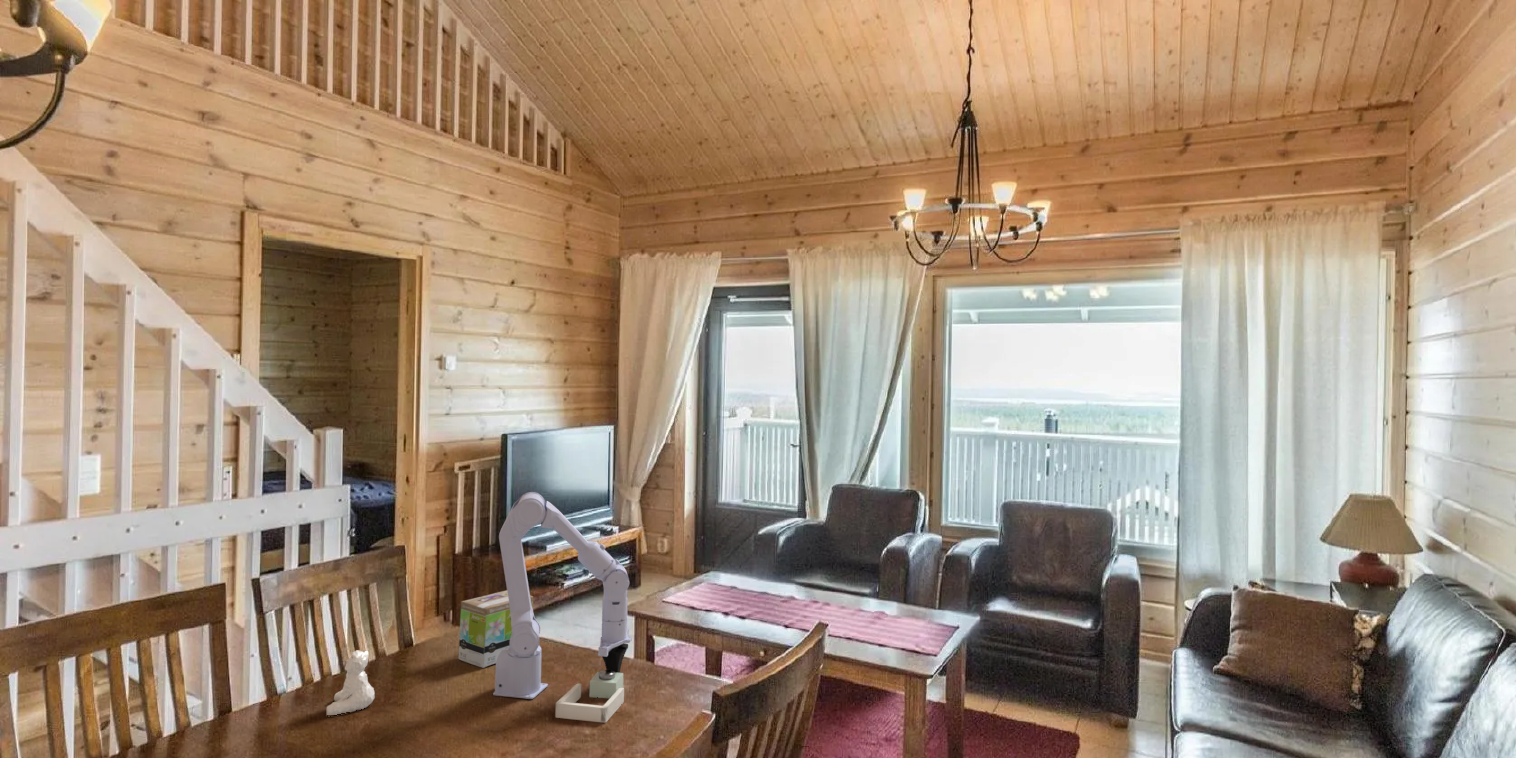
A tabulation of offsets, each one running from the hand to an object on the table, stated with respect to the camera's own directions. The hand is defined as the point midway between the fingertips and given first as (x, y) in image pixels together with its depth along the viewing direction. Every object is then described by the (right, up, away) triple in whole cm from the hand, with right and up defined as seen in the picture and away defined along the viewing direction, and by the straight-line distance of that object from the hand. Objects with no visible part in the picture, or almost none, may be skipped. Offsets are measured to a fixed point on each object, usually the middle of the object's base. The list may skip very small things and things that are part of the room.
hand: (613, 677), depth 188 cm
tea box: (-32, -1, +17) cm, 37 cm away
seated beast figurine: (-53, -1, -15) cm, 55 cm away
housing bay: (-2, -2, -13) cm, 13 cm away
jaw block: (-1, -2, -4) cm, 5 cm away
